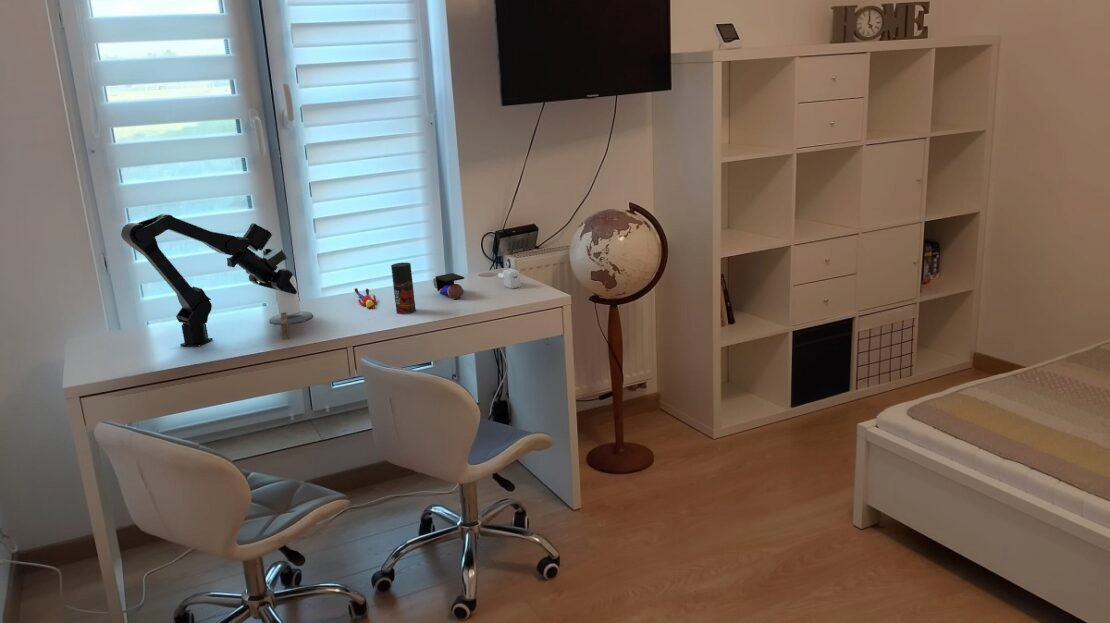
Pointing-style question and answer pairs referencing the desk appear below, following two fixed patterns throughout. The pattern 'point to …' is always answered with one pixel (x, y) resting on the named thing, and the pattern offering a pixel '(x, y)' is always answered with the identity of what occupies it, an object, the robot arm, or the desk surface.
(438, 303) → the desk surface
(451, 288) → the figurine character
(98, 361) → the desk surface
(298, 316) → the pad
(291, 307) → the can
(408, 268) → the deodorant
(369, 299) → the character figure
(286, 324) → the partition
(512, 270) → the power adapter
